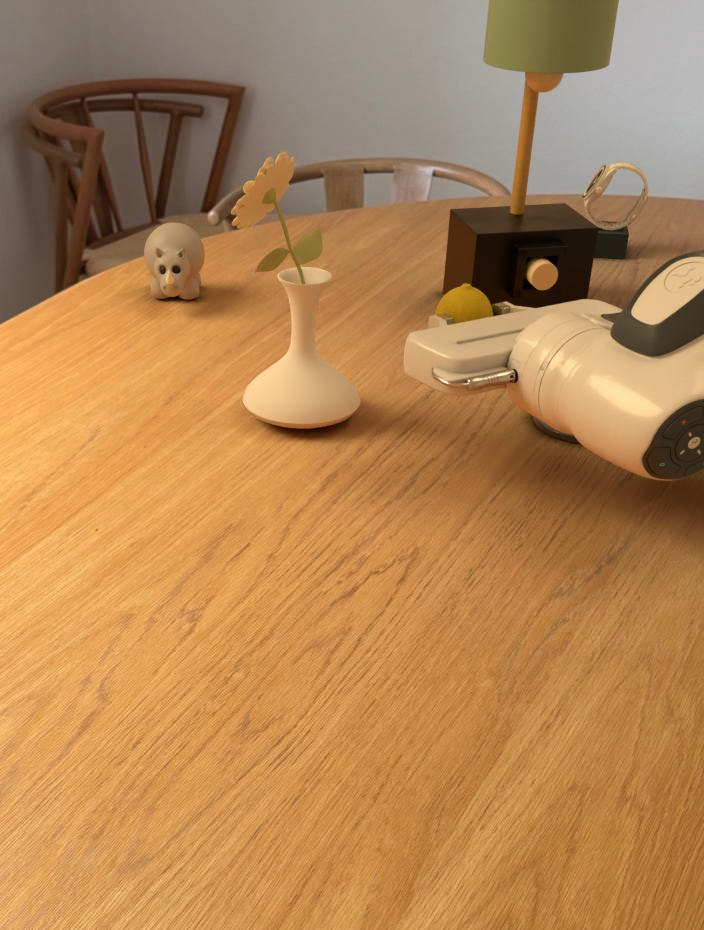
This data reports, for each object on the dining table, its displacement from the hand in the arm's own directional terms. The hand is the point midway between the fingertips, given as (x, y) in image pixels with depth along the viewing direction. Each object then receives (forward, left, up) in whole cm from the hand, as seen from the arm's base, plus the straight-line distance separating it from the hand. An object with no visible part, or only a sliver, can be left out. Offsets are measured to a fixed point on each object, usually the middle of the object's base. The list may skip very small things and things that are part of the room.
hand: (466, 316), depth 115 cm
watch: (-22, -55, -11) cm, 60 cm away
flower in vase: (+16, 0, -11) cm, 19 cm away
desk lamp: (-8, -34, -11) cm, 37 cm away
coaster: (-12, -1, -11) cm, 16 cm away
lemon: (0, 0, -5) cm, 5 cm away
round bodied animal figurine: (+32, -32, -11) cm, 46 cm away
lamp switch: (-10, -27, -6) cm, 29 cm away
